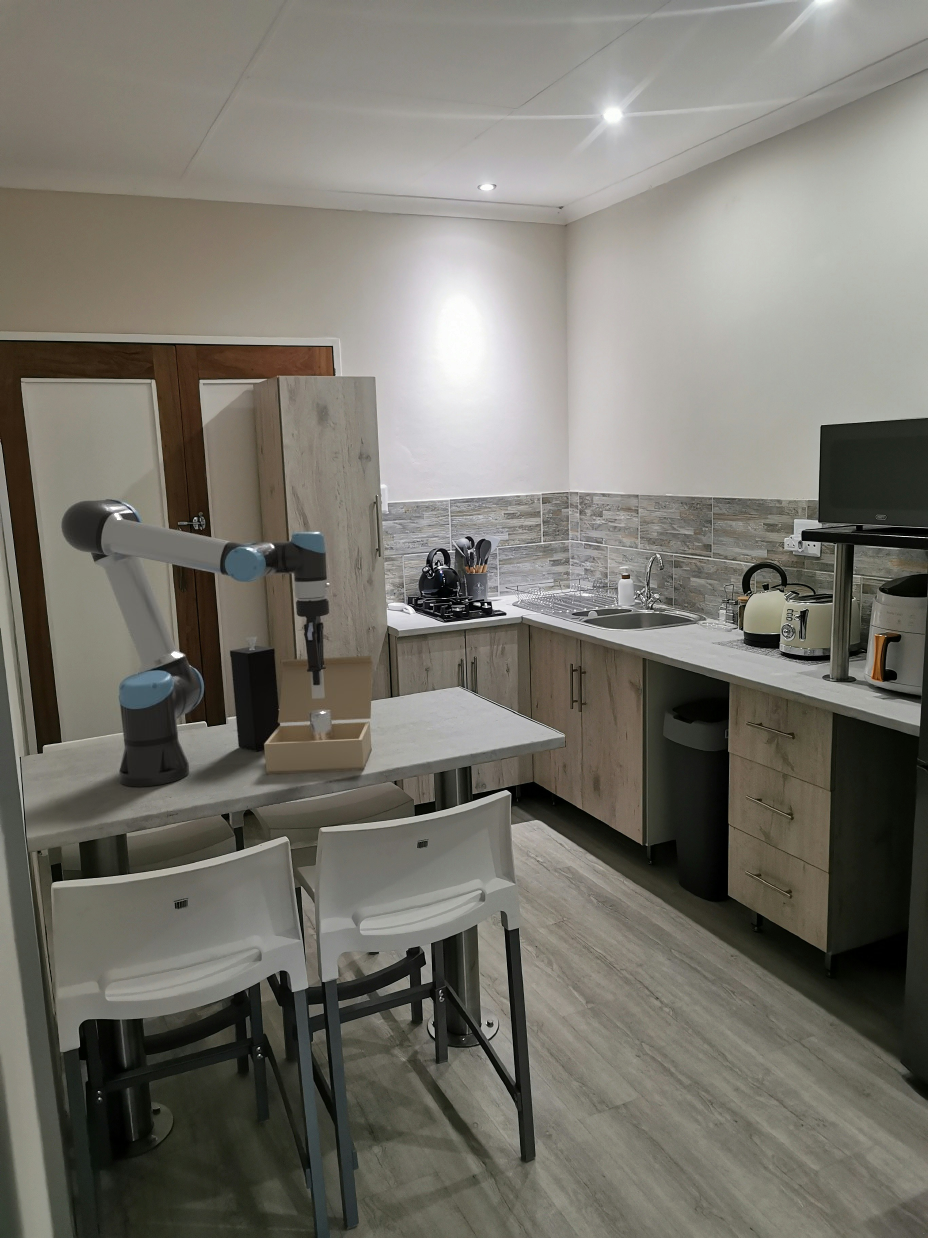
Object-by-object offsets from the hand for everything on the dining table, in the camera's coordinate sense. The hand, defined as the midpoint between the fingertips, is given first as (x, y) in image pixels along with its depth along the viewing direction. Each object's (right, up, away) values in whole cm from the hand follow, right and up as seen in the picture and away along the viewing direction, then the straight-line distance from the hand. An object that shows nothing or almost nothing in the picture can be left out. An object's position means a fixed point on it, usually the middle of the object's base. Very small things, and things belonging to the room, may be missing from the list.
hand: (318, 697), depth 217 cm
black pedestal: (-17, -14, +14) cm, 26 cm away
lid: (0, +2, +8) cm, 8 cm away
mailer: (+1, -15, -2) cm, 15 cm away
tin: (+1, -14, +1) cm, 14 cm away
